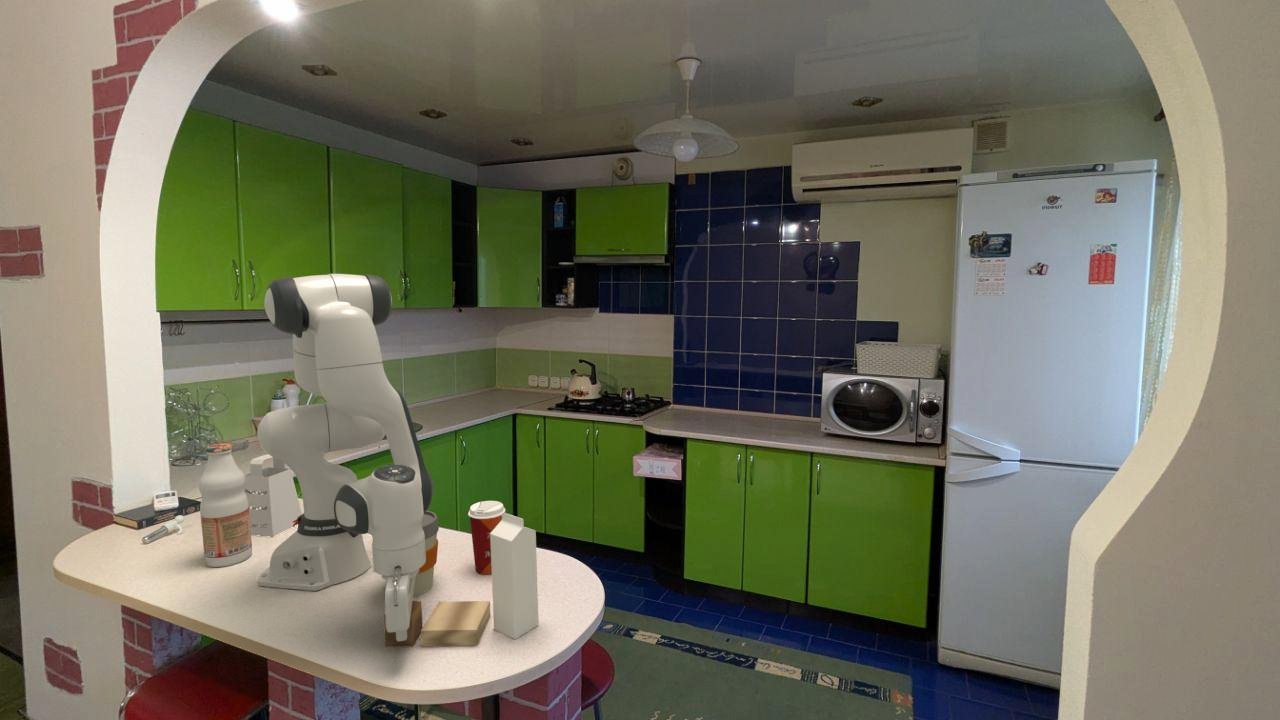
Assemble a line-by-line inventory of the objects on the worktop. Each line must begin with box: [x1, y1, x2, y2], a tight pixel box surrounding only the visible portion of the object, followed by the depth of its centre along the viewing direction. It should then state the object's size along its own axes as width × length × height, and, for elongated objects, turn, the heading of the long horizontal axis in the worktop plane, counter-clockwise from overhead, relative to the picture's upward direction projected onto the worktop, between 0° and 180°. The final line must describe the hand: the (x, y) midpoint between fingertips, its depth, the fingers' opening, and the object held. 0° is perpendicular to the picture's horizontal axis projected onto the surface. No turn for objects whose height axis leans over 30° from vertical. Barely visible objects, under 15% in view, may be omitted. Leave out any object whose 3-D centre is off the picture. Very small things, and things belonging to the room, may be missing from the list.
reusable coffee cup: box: [413, 510, 440, 597], centre depth 127 cm, size 13×13×15 cm
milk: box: [490, 512, 539, 640], centre depth 111 cm, size 6×6×22 cm
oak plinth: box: [420, 600, 491, 647], centre depth 111 cm, size 10×10×3 cm
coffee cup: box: [467, 500, 506, 576], centre depth 135 cm, size 8×8×15 cm
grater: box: [244, 453, 303, 538], centre depth 160 cm, size 10×10×20 cm
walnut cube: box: [382, 600, 424, 648], centre depth 108 cm, size 5×5×6 cm
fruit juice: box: [198, 442, 253, 568], centre depth 141 cm, size 9×9×28 cm
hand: (403, 627), depth 109 cm, fingers closed on walnut cube, 6 cm apart
